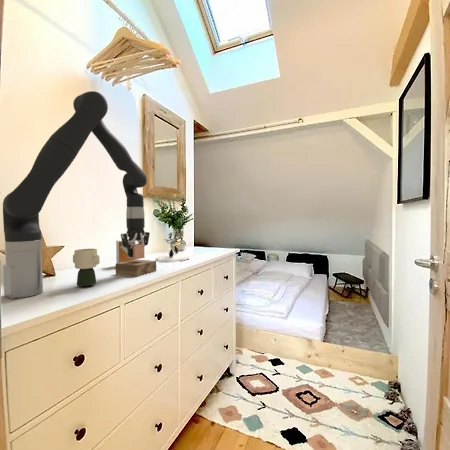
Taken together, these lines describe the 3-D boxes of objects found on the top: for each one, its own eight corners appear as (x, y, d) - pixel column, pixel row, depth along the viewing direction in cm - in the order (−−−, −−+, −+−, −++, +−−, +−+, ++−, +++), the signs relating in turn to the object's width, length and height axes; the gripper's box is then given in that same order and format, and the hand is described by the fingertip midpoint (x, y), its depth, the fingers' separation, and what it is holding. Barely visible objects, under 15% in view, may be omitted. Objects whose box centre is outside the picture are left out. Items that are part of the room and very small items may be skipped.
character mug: (106, 284, 96) (105, 248, 95) (92, 289, 89) (91, 251, 88) (81, 282, 98) (80, 248, 98) (65, 287, 91) (64, 250, 91)
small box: (119, 267, 127) (118, 241, 127) (116, 265, 132) (115, 240, 132) (136, 266, 131) (135, 240, 131) (132, 264, 137) (132, 239, 136)
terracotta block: (135, 259, 112) (134, 245, 112) (127, 258, 114) (127, 244, 114) (144, 257, 116) (144, 244, 116) (137, 257, 119) (136, 243, 118)
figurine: (170, 254, 164) (169, 228, 162) (195, 256, 156) (193, 229, 154) (148, 263, 146) (146, 234, 144) (175, 266, 138) (173, 235, 136)
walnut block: (136, 277, 107) (136, 265, 107) (115, 275, 113) (115, 263, 112) (156, 272, 118) (156, 261, 118) (136, 269, 123) (136, 259, 123)
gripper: (126, 217, 107) (127, 259, 107) (154, 217, 119) (154, 254, 119) (115, 217, 111) (116, 257, 111) (142, 217, 123) (143, 253, 123)
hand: (136, 256), depth 115 cm, fingers closed on terracotta block, 5 cm apart
